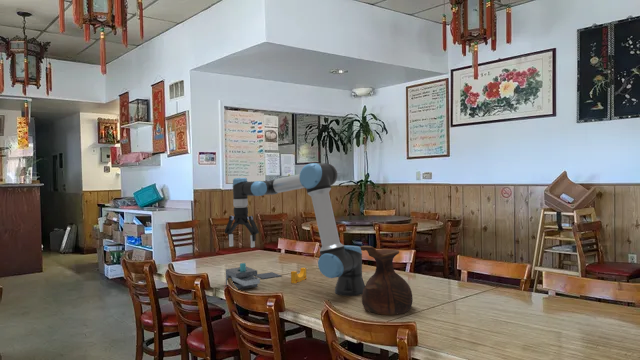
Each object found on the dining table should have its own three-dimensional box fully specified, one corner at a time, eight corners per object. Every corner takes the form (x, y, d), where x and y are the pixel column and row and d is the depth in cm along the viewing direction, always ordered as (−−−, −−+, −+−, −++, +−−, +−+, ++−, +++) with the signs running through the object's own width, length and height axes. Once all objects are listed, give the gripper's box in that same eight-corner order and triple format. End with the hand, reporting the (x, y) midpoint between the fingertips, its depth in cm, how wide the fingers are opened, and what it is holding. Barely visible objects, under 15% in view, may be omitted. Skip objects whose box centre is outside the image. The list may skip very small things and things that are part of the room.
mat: (281, 276, 282) (281, 275, 282) (262, 279, 276) (262, 278, 276) (272, 272, 292) (272, 272, 292) (253, 275, 286) (253, 274, 286)
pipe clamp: (299, 278, 276) (299, 267, 276) (306, 279, 274) (306, 268, 274) (288, 283, 266) (288, 271, 266) (295, 284, 264) (294, 272, 264)
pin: (247, 286, 260) (246, 263, 259) (241, 287, 258) (241, 264, 258) (244, 285, 262) (244, 262, 262) (239, 286, 260) (239, 263, 260)
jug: (359, 306, 217) (358, 239, 217) (408, 306, 217) (407, 238, 216) (362, 322, 196) (361, 247, 195) (416, 321, 195) (415, 246, 194)
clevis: (262, 288, 253) (262, 272, 253) (241, 292, 247) (240, 275, 247) (246, 281, 270) (246, 266, 270) (226, 284, 264) (225, 269, 264)
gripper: (264, 206, 257) (265, 246, 258) (225, 206, 268) (226, 244, 268) (256, 207, 251) (258, 248, 251) (217, 207, 261) (218, 247, 262)
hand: (242, 246), depth 260 cm, fingers open, 13 cm apart
